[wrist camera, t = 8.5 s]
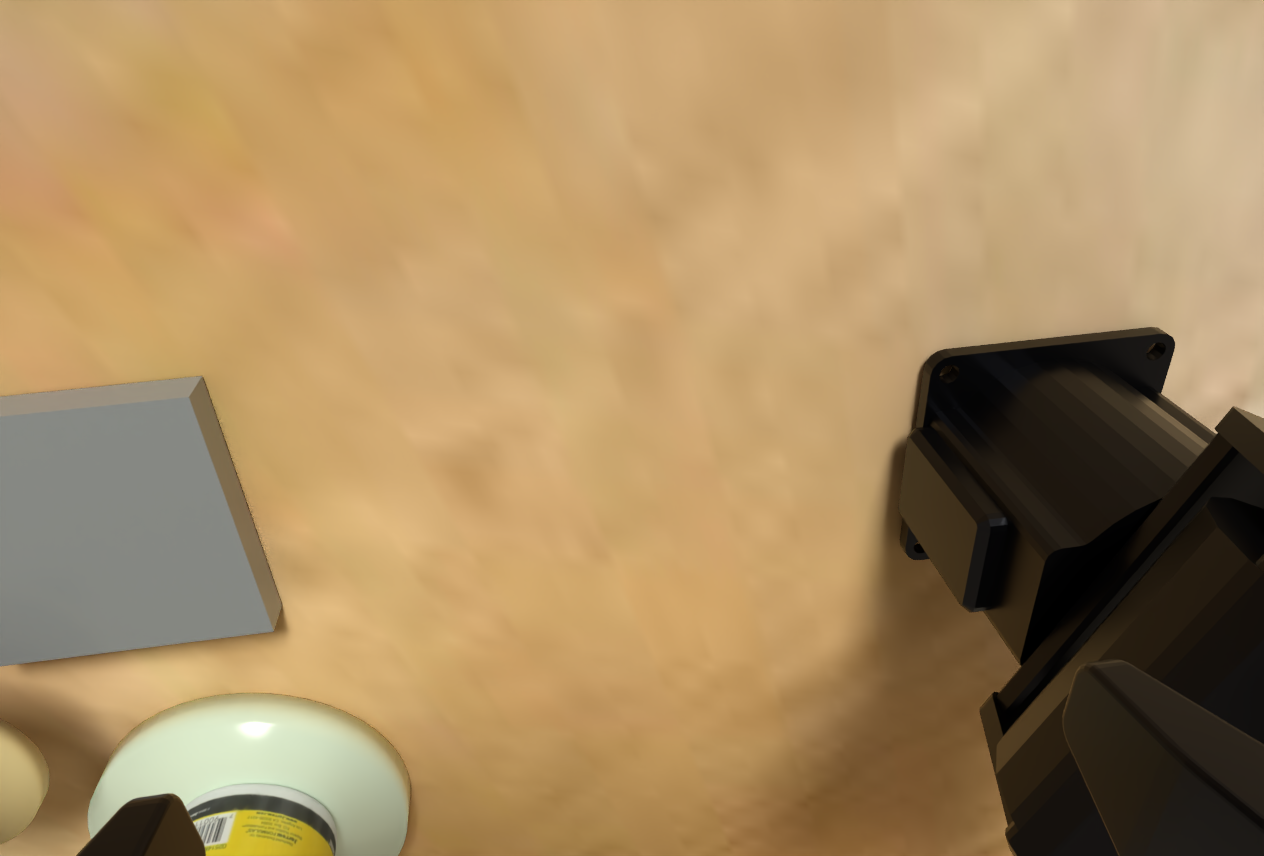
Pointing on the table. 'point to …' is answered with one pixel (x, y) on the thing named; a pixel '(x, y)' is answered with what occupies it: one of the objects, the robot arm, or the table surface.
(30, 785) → the balance
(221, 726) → the sage dish
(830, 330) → the table surface
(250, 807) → the supplement bottle
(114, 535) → the slate coaster
